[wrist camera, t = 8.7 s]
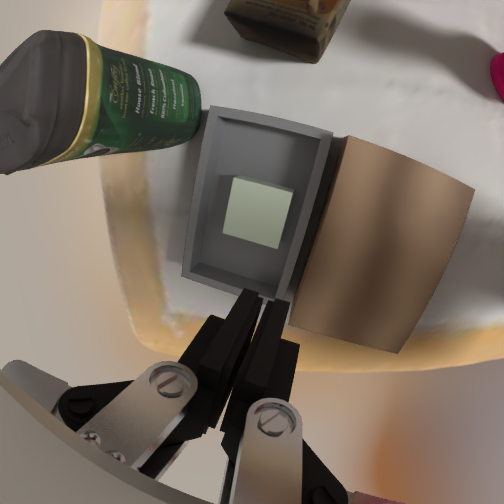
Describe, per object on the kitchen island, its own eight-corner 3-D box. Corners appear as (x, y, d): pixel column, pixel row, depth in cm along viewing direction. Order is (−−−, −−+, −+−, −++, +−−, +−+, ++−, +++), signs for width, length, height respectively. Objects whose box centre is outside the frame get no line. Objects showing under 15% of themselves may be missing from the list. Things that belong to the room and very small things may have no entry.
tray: (331, 134, 22) (333, 132, 19) (284, 293, 28) (280, 309, 26) (222, 109, 23) (210, 105, 20) (193, 264, 30) (181, 276, 27)
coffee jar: (203, 66, 22) (46, -3, 5) (207, 143, 25) (33, 160, 8) (122, 87, 24) (-30, 78, 7) (126, 155, 27) (-30, 191, 10)
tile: (233, 177, 23) (240, 175, 24) (222, 232, 25) (229, 226, 26) (292, 193, 22) (294, 189, 24) (277, 249, 24) (280, 241, 26)
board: (449, 180, 20) (475, 189, 16) (389, 323, 27) (397, 353, 22) (342, 137, 22) (348, 135, 17) (293, 296, 28) (288, 324, 24)
